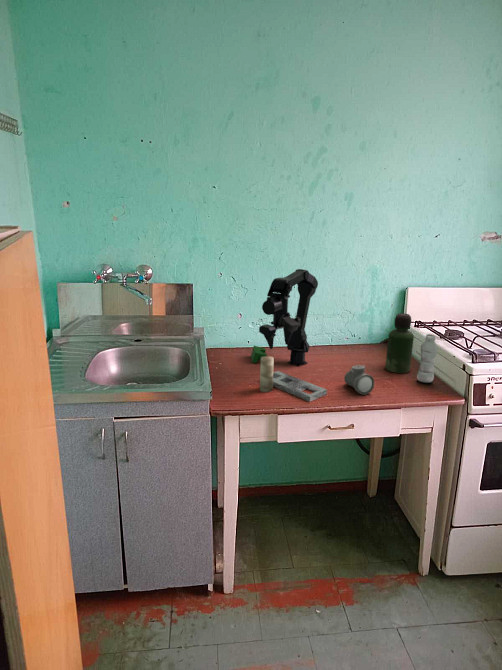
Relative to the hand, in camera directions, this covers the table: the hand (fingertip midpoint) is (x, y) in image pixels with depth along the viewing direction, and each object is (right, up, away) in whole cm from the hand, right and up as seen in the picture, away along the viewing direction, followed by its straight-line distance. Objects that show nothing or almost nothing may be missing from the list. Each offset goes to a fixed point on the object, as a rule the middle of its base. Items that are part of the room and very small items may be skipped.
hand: (279, 346), depth 196 cm
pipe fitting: (+30, -17, -8) cm, 36 cm away
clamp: (-8, -7, +22) cm, 25 cm away
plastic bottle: (+60, -15, +1) cm, 62 cm away
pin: (-6, -17, -10) cm, 20 cm away
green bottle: (+53, -11, +14) cm, 56 cm away
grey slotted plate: (+5, -16, -8) cm, 19 cm away
